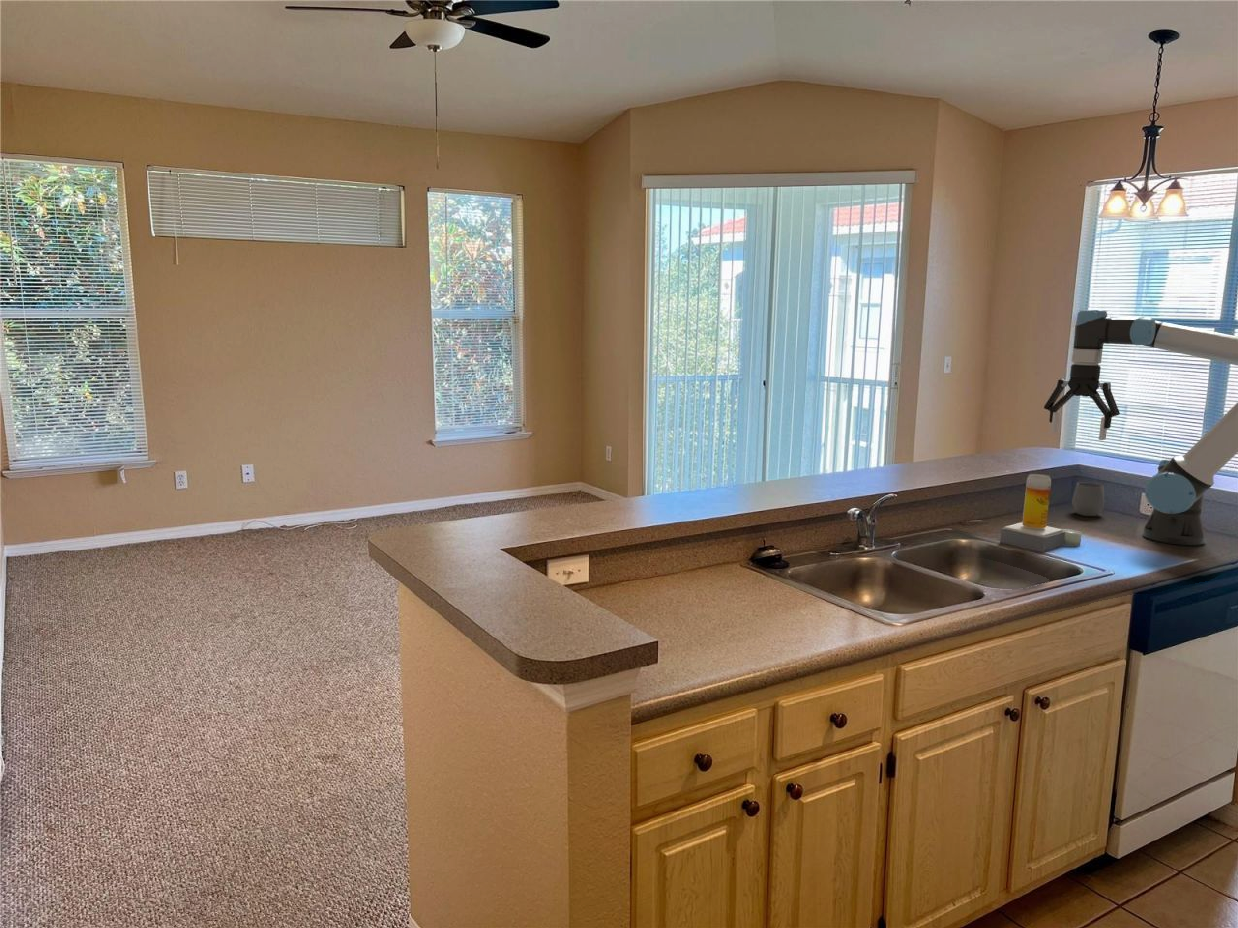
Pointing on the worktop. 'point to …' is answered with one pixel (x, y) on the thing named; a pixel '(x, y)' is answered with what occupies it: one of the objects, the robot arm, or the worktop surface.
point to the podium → (1032, 537)
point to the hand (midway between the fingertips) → (1077, 436)
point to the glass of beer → (1036, 501)
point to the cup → (1088, 499)
